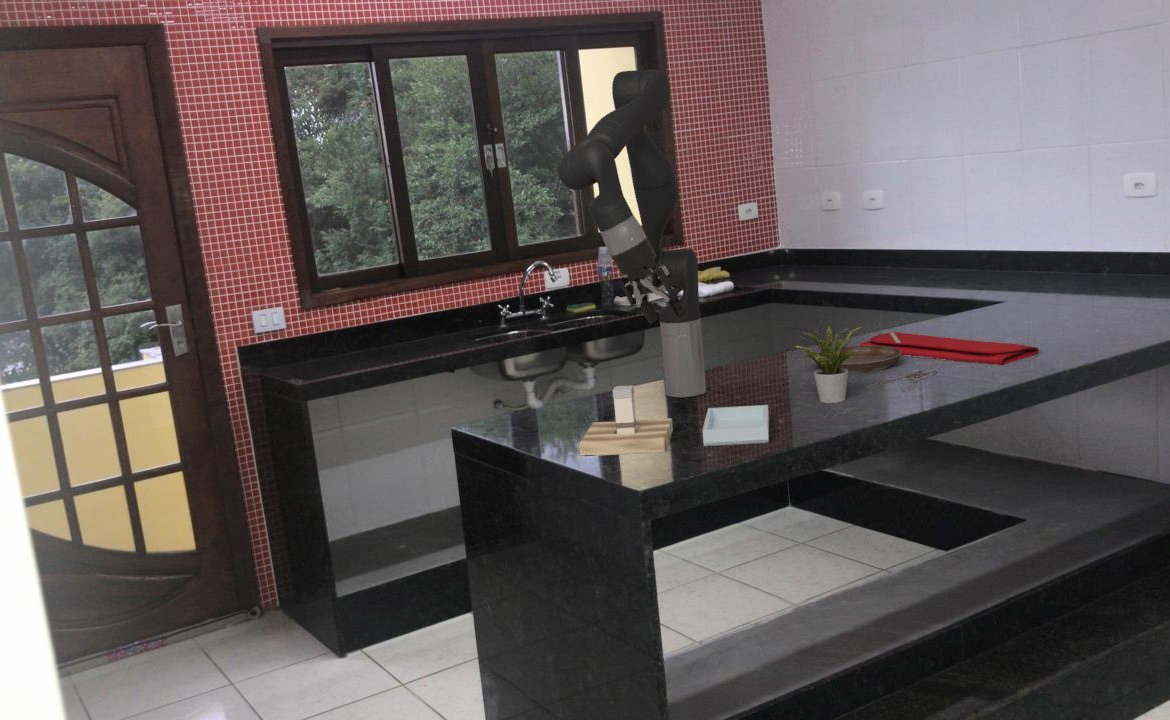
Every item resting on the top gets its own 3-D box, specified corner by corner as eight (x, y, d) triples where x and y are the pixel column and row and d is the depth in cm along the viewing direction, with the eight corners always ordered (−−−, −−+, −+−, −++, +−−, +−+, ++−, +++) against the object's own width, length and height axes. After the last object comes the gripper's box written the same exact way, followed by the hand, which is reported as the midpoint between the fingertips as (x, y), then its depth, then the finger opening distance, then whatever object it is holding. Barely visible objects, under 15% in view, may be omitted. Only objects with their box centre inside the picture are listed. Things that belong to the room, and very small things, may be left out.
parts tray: (709, 422, 217) (708, 408, 217) (769, 419, 215) (767, 404, 215) (703, 445, 200) (702, 430, 199) (768, 442, 198) (767, 427, 197)
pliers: (862, 388, 233) (896, 369, 249) (863, 391, 233) (896, 372, 249) (906, 389, 227) (937, 370, 243) (906, 393, 227) (937, 373, 243)
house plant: (845, 388, 236) (841, 315, 233) (884, 398, 223) (880, 321, 220) (789, 399, 231) (784, 324, 228) (825, 409, 218) (821, 331, 215)
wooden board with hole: (594, 434, 217) (593, 422, 216) (672, 430, 214) (671, 418, 213) (580, 456, 201) (579, 443, 201) (665, 452, 198) (663, 439, 198)
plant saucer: (849, 380, 245) (848, 365, 245) (797, 368, 264) (796, 355, 264) (920, 365, 253) (919, 351, 253) (864, 355, 272) (864, 342, 271)
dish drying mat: (1001, 367, 243) (1000, 351, 243) (857, 353, 276) (857, 339, 276) (1039, 355, 252) (1039, 340, 252) (896, 343, 285) (895, 329, 285)
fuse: (620, 441, 210) (615, 386, 208) (638, 440, 209) (633, 385, 207) (617, 445, 206) (612, 390, 204) (636, 445, 206) (631, 389, 204)
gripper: (663, 228, 196) (703, 304, 200) (620, 241, 209) (658, 313, 212) (635, 247, 193) (676, 324, 196) (593, 259, 205) (632, 332, 208)
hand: (667, 318), depth 204 cm, fingers open, 8 cm apart
